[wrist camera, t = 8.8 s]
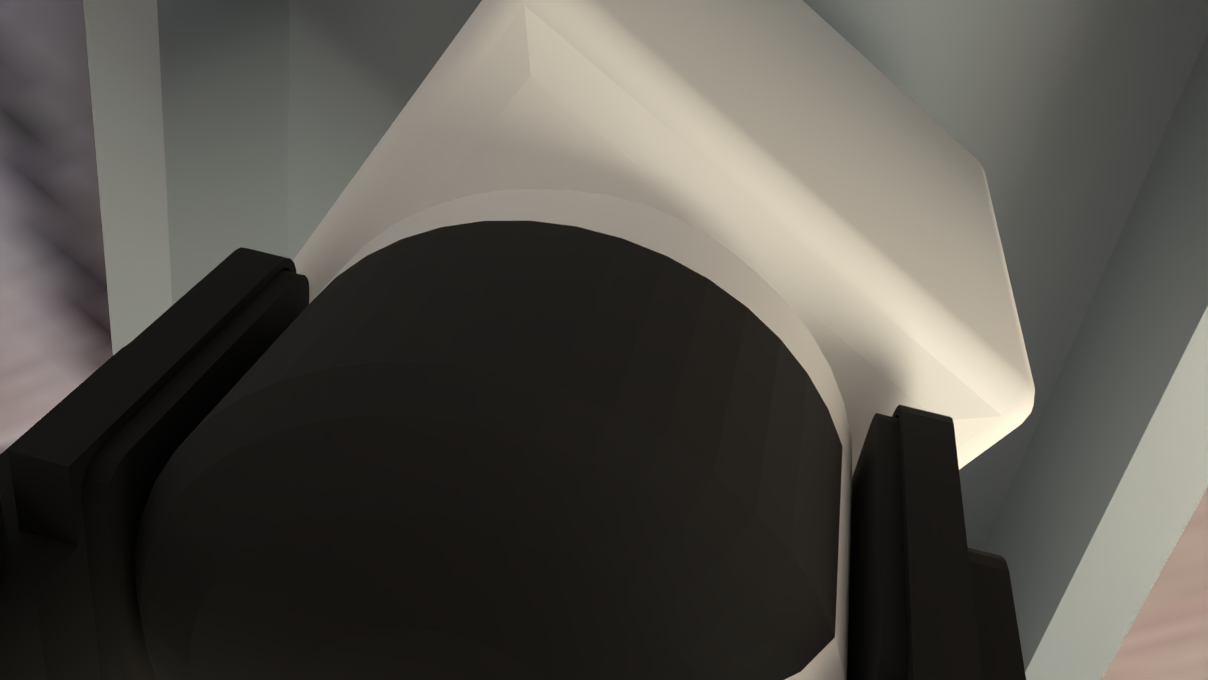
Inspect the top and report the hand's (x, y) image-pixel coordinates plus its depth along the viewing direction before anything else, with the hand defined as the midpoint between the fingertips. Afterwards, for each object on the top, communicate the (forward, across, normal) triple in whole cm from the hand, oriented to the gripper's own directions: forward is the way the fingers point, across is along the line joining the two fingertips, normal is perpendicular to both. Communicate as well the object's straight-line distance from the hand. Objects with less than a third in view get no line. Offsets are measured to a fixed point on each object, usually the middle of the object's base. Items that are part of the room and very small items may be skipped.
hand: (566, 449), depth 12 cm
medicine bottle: (+8, 0, 0) cm, 8 cm away
